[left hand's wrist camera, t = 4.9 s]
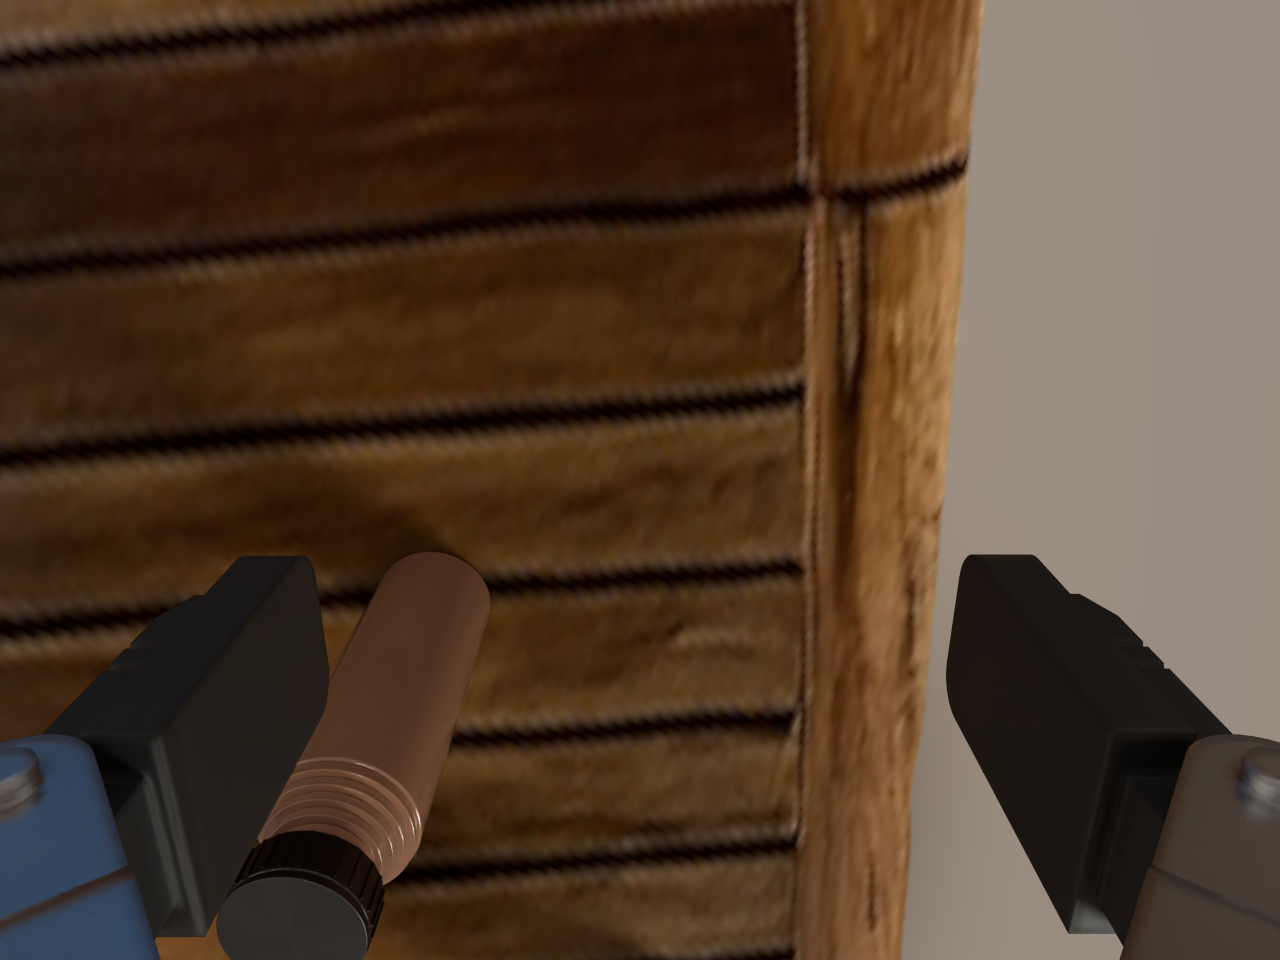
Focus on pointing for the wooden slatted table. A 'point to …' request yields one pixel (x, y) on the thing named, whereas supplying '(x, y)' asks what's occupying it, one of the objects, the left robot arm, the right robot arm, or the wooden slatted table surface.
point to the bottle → (390, 712)
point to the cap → (302, 900)
